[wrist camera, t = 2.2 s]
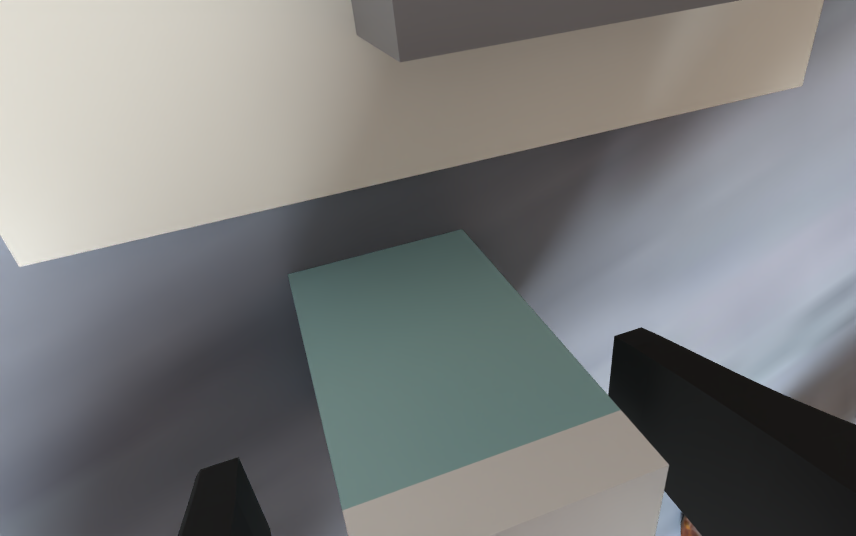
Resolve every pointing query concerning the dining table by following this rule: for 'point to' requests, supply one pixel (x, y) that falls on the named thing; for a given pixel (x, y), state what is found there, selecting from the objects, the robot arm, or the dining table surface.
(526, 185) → the dining table surface
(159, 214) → the outlet plate
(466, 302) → the block
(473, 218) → the dining table surface
